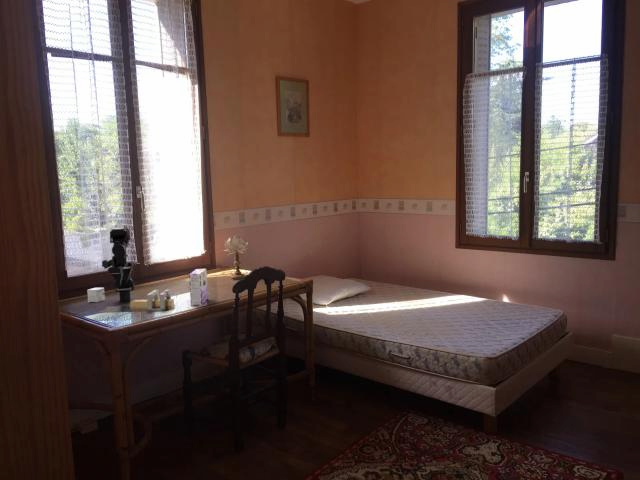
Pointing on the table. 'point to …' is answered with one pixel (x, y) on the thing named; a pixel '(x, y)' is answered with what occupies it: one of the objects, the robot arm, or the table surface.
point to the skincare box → (96, 294)
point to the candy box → (198, 287)
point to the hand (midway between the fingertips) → (122, 284)
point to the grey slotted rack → (149, 302)
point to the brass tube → (156, 304)
